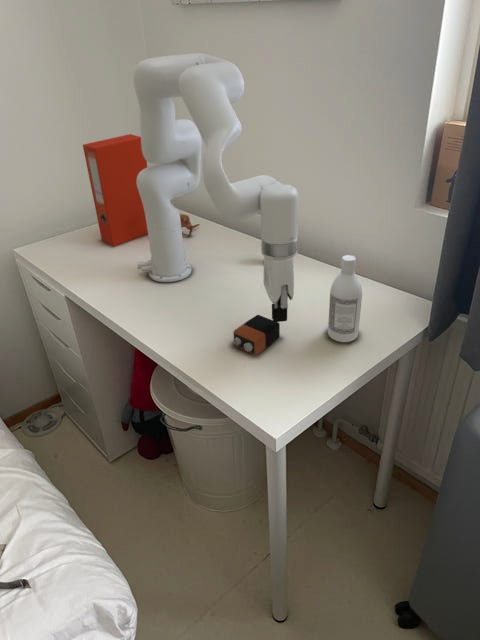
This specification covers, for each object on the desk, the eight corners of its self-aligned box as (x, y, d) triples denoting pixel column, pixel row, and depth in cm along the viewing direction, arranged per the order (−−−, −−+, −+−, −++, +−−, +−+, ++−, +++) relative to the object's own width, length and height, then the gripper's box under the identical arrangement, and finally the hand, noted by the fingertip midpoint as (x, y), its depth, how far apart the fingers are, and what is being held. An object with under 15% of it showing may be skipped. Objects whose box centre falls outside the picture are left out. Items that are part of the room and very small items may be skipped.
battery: (280, 338, 118) (253, 358, 112) (258, 328, 122) (230, 347, 115) (280, 322, 115) (253, 342, 109) (257, 313, 119) (229, 332, 113)
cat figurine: (193, 225, 180) (189, 188, 172) (206, 229, 176) (203, 191, 169) (156, 243, 168) (150, 203, 161) (170, 247, 164) (165, 207, 157)
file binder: (156, 231, 177) (143, 137, 159) (114, 246, 167) (95, 148, 150) (143, 225, 182) (129, 133, 164) (101, 240, 172) (82, 144, 155)
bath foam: (337, 323, 122) (342, 248, 111) (363, 333, 118) (371, 255, 107) (322, 336, 118) (326, 259, 107) (348, 346, 114) (355, 267, 103)
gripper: (255, 233, 110) (257, 305, 120) (268, 263, 98) (270, 340, 107) (288, 230, 111) (287, 301, 121) (306, 259, 98) (304, 335, 108)
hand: (279, 319), depth 114 cm, fingers closed
